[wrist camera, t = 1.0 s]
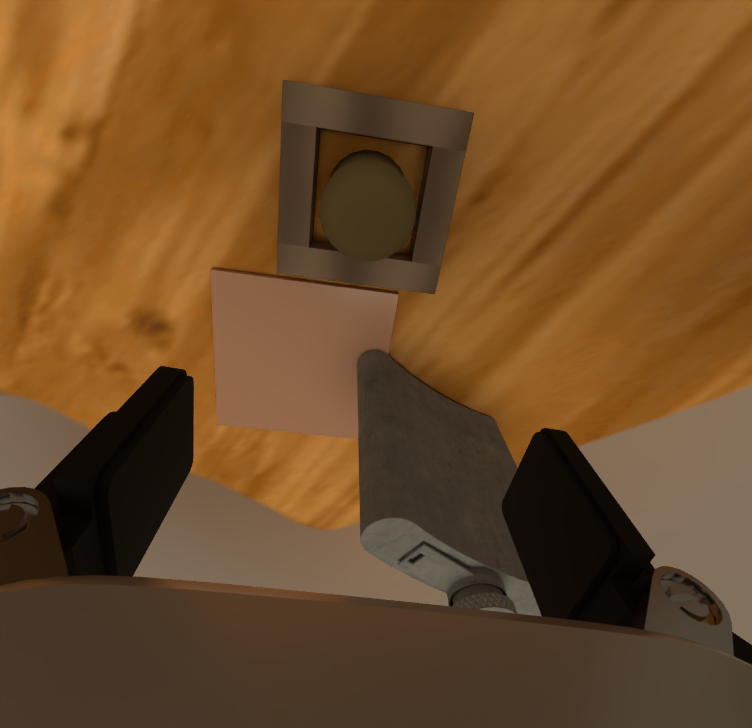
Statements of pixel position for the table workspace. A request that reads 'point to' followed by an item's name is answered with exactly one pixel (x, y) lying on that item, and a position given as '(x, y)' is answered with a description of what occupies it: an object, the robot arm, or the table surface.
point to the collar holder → (377, 120)
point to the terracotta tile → (293, 350)
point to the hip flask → (436, 490)
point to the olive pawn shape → (367, 207)
